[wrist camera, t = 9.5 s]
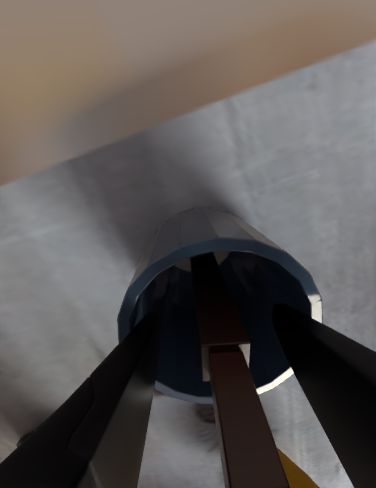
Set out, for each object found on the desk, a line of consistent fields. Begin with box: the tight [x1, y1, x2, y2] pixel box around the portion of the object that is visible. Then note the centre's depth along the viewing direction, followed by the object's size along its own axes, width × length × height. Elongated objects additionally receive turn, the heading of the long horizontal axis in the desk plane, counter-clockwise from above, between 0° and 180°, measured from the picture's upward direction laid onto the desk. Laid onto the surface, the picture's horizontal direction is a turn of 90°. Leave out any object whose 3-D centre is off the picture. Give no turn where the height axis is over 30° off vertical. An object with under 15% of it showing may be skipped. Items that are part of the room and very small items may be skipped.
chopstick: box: [190, 257, 290, 488], centre depth 8 cm, size 2×2×10 cm
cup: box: [117, 207, 322, 404], centre depth 11 cm, size 8×8×6 cm
